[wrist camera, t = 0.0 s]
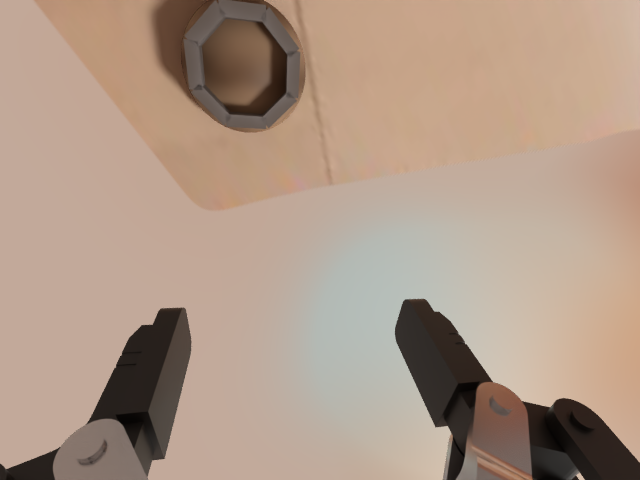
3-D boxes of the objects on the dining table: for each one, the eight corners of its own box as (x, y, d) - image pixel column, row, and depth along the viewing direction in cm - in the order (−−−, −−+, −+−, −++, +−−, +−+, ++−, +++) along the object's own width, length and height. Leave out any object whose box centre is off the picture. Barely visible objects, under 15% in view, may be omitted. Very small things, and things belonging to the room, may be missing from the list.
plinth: (177, -12, 28) (166, -21, 25) (307, 5, 30) (312, -1, 27) (193, 125, 34) (185, 132, 31) (300, 131, 36) (303, 139, 33)
